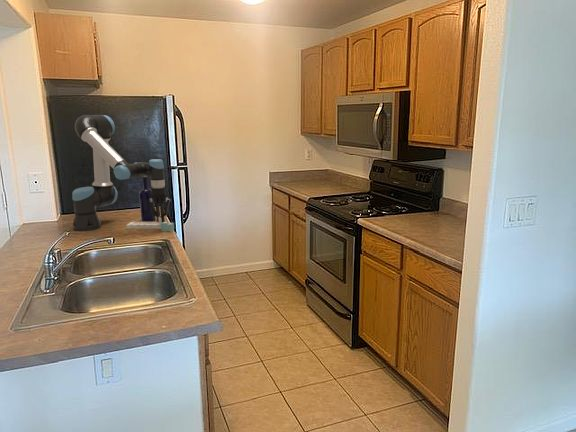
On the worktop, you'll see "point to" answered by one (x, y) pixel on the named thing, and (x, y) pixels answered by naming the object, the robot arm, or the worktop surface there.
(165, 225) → the stub
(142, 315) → the worktop surface
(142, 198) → the bottle
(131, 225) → the slab
